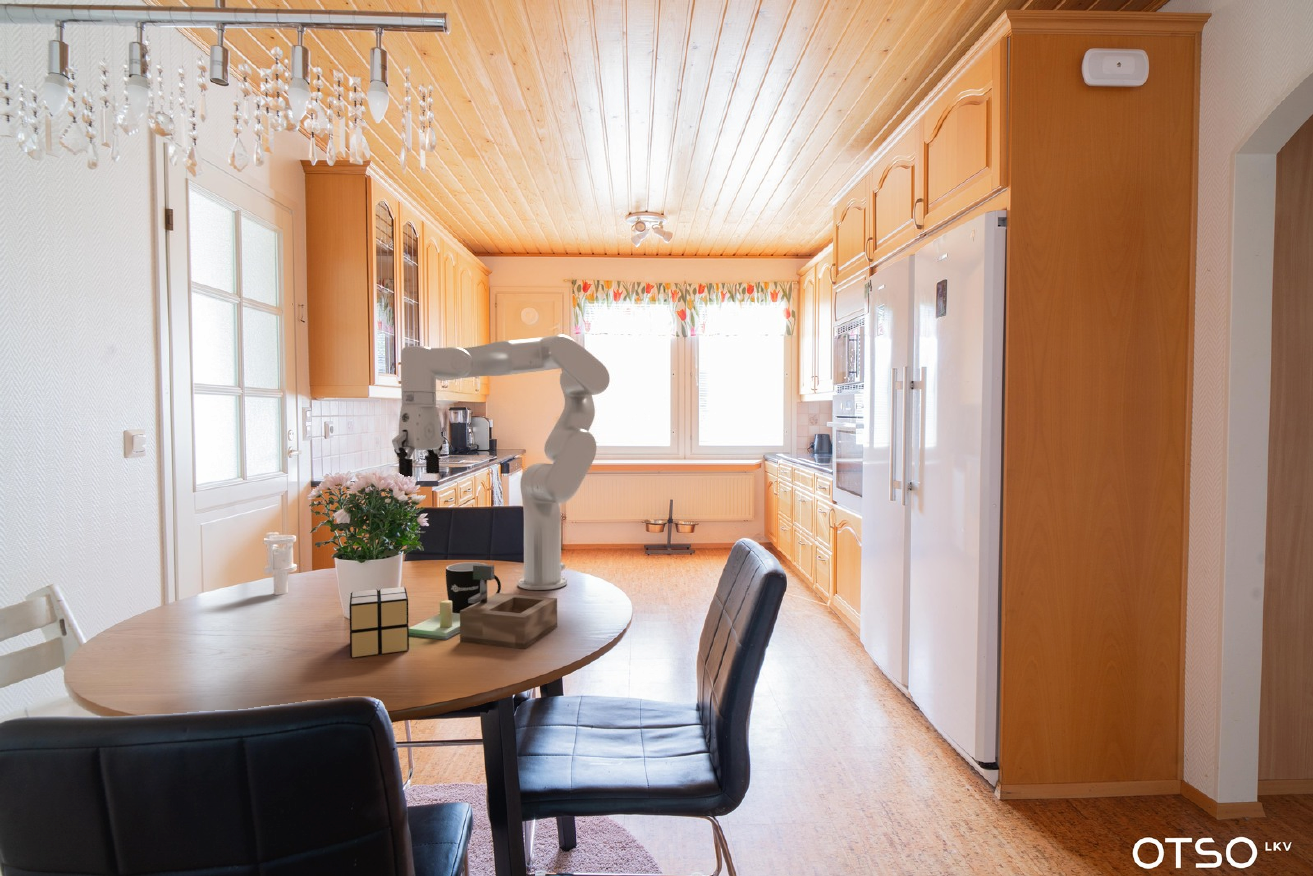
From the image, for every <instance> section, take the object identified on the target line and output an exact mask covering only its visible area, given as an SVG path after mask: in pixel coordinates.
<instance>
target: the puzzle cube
mask: <svg viewBox="0 0 1313 876" xmlns="http://www.w3.org/2000/svg"><path fill="white" fill-rule="evenodd" d="M407 592H408V591H407V588H406V587H405V586H399V587H398V586H397V587H389V588H388V587H387V588H380V589H365V590H355V591H352V592H351V593H350V599H349V605H348V606H349V608H348V609H349V655H350V656H349V657H350V658H351V659H357V658H365V657H371V656H379V655H380V654H381V655H388V654H397V653H404V652H408V651H409V650H410V636H409V628H410V627H409V598H408V593H407Z"/></svg>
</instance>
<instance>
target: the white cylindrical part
mask: <svg viewBox="0 0 1313 876" xmlns="http://www.w3.org/2000/svg"><path fill="white" fill-rule="evenodd" d="M295 542H297V536H296V535H293V534H292V535H291V534H281V535H280V532H277V531H276V532H275V531H274V532H270V531H269V532H266V533H265V537H264V538H263V544H264V545H266V546H265V548H267V552H266V553H267V559H266V560H267V562H266V563H267V564H266V565H267V566H265V567H264V568H263V573H264V574H266V575H273V595H277V596H278V595H279V596H281V595H285V594H288V593H289V586H288V585H289V583H288V582H289V581H288V579H289V577H288V576H289V575H288V573H292V572H296V571H297V569H298V568H297V566H298V565H297V564H296V563H294V543H295ZM280 545H282V547H281V548H280Z"/></svg>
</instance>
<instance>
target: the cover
mask: <svg viewBox="0 0 1313 876" xmlns="http://www.w3.org/2000/svg"><path fill="white" fill-rule="evenodd" d="M459 630H460V614H459V613H453V612H452V601H450V600H448V599H447V600H442V601H439V614H436V615H434V616H432V617H430V618H428V619H426V620H423V621H421V622H419V623H417V624H415V625H412V626H410V627H409V633H418V634H426V635H435V636H443V637H447V636H449V635H451V634H453V633H455V632H457V631H459Z"/></svg>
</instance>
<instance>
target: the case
mask: <svg viewBox="0 0 1313 876" xmlns="http://www.w3.org/2000/svg"><path fill="white" fill-rule="evenodd" d="M556 628H558V598H556V597H548V596H546V597H545V596H537V595H536V596H534V595H525V594H514V593H513V594H512V593H501V592H500V593H496V592H495V594H492V595H490V596H487V602H478V603H475V604H473V605H471V606H469V607H467V608H465V609H463V610H461V611H460V633H459V642H461V643H471V644H477V645H478V644H479V645H488V646H496V647H497V646H498V647H503V648H513V649H514V648H515V649H523V650H525V649H527V648H528V647H530V646H531V645H532V644H534V643H536V642H537V641H538V640H540V639H542V638H543V637H544V636H546V635H548V634H549V633H550V632H552V631H553V630H555V629H556Z"/></svg>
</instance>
